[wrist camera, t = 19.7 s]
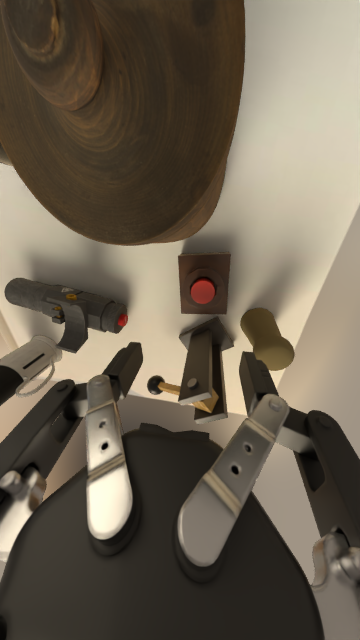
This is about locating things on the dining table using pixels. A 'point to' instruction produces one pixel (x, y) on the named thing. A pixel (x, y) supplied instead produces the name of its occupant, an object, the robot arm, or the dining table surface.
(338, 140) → the dining table surface
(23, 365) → the glass holder
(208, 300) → the button
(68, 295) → the laser sight
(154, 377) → the lever
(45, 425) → the robot arm
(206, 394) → the switch bracket
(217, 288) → the lamp base
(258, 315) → the tan wooden game pawn
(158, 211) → the wooden container
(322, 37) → the dining table surface
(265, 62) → the dining table surface
